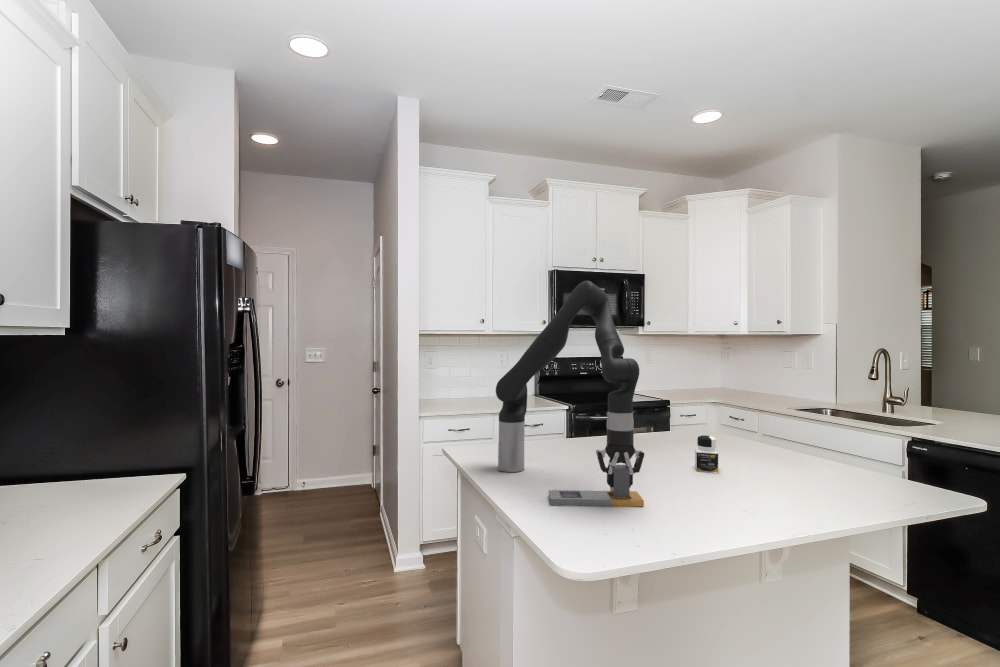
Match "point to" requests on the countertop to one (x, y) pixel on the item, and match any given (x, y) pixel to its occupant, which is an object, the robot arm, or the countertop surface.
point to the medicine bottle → (706, 454)
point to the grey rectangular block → (621, 481)
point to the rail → (593, 498)
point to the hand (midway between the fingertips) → (619, 486)
